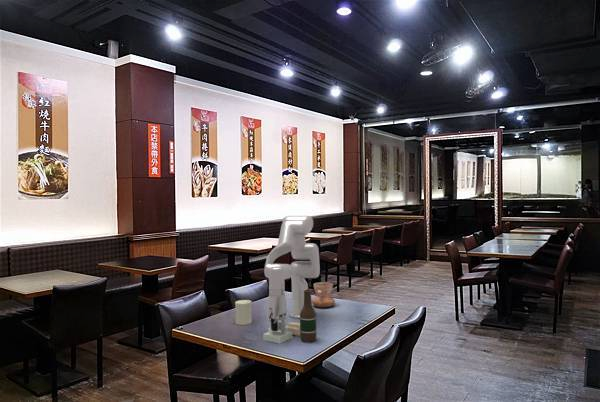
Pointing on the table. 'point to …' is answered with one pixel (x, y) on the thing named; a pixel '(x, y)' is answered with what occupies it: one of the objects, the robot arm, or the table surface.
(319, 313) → the table surface
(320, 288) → the ceramic jug
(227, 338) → the table surface
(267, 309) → the robot arm
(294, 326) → the stand
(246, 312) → the can
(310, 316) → the beer bottle
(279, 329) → the housing
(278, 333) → the stand
